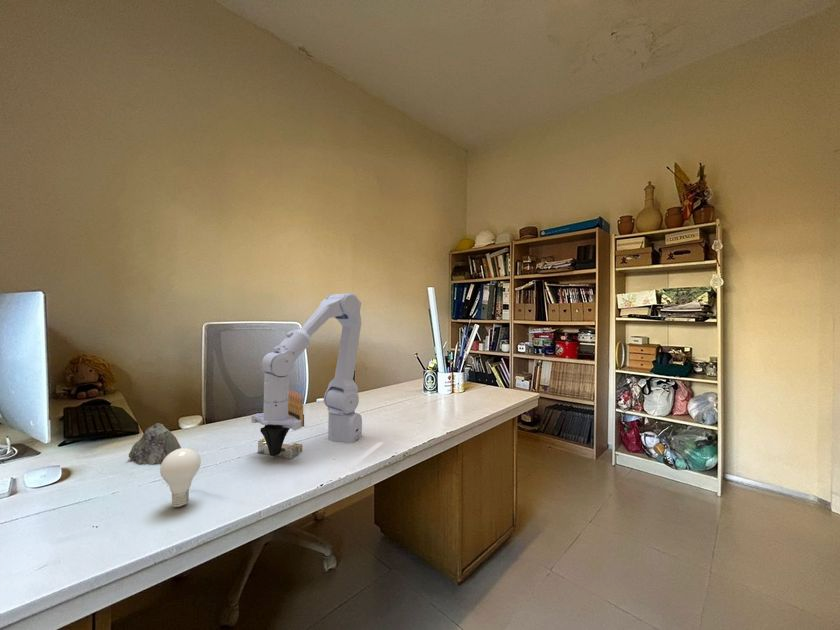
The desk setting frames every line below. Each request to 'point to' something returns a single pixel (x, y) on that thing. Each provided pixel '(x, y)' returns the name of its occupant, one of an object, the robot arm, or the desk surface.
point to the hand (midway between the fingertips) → (275, 454)
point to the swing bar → (286, 449)
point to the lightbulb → (180, 473)
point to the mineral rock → (154, 445)
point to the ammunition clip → (296, 406)
